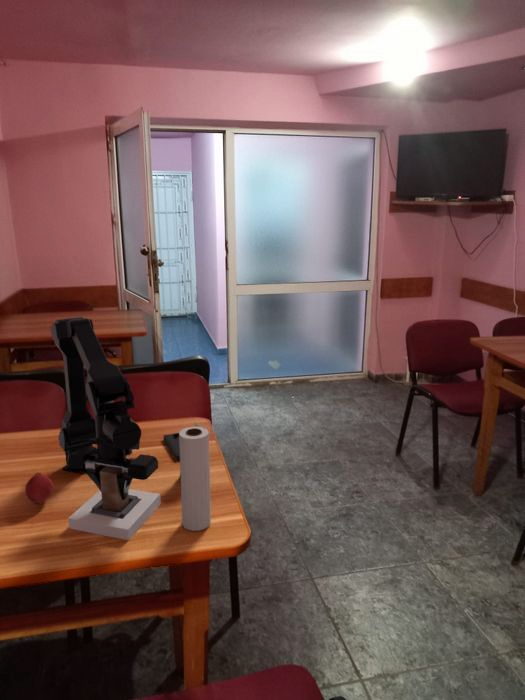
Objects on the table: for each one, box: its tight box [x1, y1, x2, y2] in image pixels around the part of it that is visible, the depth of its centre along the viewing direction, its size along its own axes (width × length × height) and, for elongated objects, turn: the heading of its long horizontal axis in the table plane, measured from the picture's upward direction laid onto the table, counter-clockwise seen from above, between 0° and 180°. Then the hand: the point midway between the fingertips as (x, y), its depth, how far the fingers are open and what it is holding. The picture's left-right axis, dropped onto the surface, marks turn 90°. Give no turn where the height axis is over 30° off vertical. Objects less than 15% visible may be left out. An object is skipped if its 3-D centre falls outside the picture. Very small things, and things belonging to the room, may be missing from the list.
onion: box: [25, 471, 54, 505], centre depth 117 cm, size 6×6×8 cm
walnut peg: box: [100, 466, 129, 513], centre depth 112 cm, size 4×4×10 cm
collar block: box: [68, 488, 161, 541], centre depth 113 cm, size 14×14×3 cm
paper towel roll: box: [178, 422, 212, 532], centre depth 109 cm, size 7×6×21 cm
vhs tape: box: [163, 432, 180, 462], centre depth 146 cm, size 14×8×2 cm, turn 24°
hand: (115, 497), depth 112 cm, fingers closed on walnut peg, 4 cm apart
